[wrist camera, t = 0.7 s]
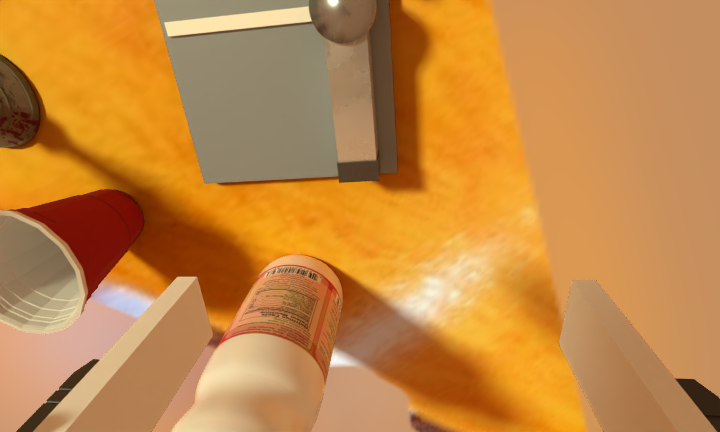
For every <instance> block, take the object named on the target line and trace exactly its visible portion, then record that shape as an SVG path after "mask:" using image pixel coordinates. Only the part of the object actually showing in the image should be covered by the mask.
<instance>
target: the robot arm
mask: <svg viewBox="0 0 720 432" xmlns="http://www.w3.org/2000/svg"><path fill="white" fill-rule="evenodd" d="M212 336H213V333H212V329H211V326H210V322H209V318H208V315H207V311H206V307H205V304H204V300H203V296H202V293H201V289H200V285H199V281H198V278H197V277H177V278H176V279H175V280H174V281H173V282H172V283H171V284H170V285H169V287H168V288H167V289H166V290H165V291H164V292H163V293H162V294H161V295H160V296H159V297H158V298H157V299H156V300H155V301H154V303H153V304H152V305H151V306H150V307H149V308H148V309H147V310H146V311H145V312H144V313H143V314H142V315H141V316H140V318H139V319H138V320H137V321H136V322H135V323H134V324H133V325H132V326H131V327H130V328H129V329H128V330H127V331H126V333H125V334H124V335H123V336H122V337H121V338H120V339H119V340H118V341H117V342H116V343H115V344H114V345H113V346H112V348H111V349H110V350H109V351H108V352H107V353H106V354H105V355H104V356H103V357H102V358H101V359H100V360H97V359H96V360H95V359H93V360H92V361H90V362H89V363H87V364H86V365H84V366H83V367H81V368H80V369H78V370H77V371H75V372H74V373H73V374H72V375H71V376H70V377H69V378H68V379H67V380H66V381H65V382H64V383H63V384H62V385H61V386H60V388H59V390H58V391H55V393H54V394H53V395H52V396H51V397H50V398H49V399H48V400H47V403H46V404H43V405H42V406H41V407H40V408H39V409H38V410H37V411H36V412H35V413H34V414H33V415H32V416H31V417H30V418H29V419H28V420H27V421H26V422H25V423H24V424H23V425H22V426H21V427H20V428H19V429H18V430H17V432H152V431H153V429H154V428H155V426H156V424H157V423H158V421H159V420H160V418H161V417H162V415H163V413H164V412H165V410H166V409H167V407H168V405H169V404H170V402H171V401H172V399H173V398H174V396H175V394H176V393H177V391H178V390H179V388H180V386H181V385H182V383H183V382H184V380H185V379H186V377H187V375H188V374H189V372H190V370H191V369H192V367H193V366H194V364H195V363H196V361H197V359H198V358H199V356H200V355H201V353H202V352H203V350H204V348H205V347H206V345H207V344H208V342H209V341H210V339H211V338H212ZM559 346H560V348H561V350H562V351H563V353H564V355H565V357H566V359H567V361H568V363H569V365H570V367H571V369H572V371H573V373H574V375H575V377H576V379H577V381H578V383H579V385H580V387H581V389H582V391H583V393H584V394H585V397H586V399H587V400H588V402H589V404H590V406H591V408H592V410H593V412H594V414H595V416H596V418H597V420H598V422H599V424H600V426H601V428H602V430H603V432H720V399H719V397H718V396H716V395H715V394H714V393H712V392H711V391H709V390H708V389H706V388H705V387H704V386H702V385H701V384H699V383H698V382H697V381H696V380H694V379H675V378H674V377H673V376H672V375H671V373H670V372H669V371H668V369H667V368H666V367H665V366H664V364H663V363H662V362H661V361H660V360H659V358H658V357H657V356H656V355H655V353H654V352H653V351H652V349H651V348H650V347H649V346H648V344H647V343H646V342H645V341H644V339H643V338H642V337H641V336H640V334H639V333H638V332H637V331H636V330H635V328H634V327H633V326H632V324H631V323H630V322H629V321H628V319H627V318H626V317H625V316H624V314H623V313H622V312H621V311H620V309H619V308H618V307H617V306H616V304H615V303H614V302H613V301H612V299H611V298H610V297H609V296H608V294H607V293H606V292H605V290H604V289H603V288H602V287H601V285H600V284H599V283H598V282H597V280H572V282H571V287H570V292H569V297H568V302H567V307H566V311H565V316H564V321H563V326H562V331H561V336H560V341H559Z"/></svg>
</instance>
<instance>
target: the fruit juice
mask: <svg viewBox="0 0 720 432" xmlns="http://www.w3.org/2000/svg"><path fill="white" fill-rule="evenodd" d="M342 305H343V291H342V286H341V283H340V281H339V279H338V277H337V276H336V274H335V273H334V272H333V270H332V269H331V268H330V267H328V266H327V265H326V264H324V263H323V262H321V261H319V260H317V259H315V258H313V257H309V256H305V255H287V256H283V257H280V258H278V259H276V260H274V261H272V262H271V263H269V264H268V265H267V266H266V267H265V268H264V269H263V270H262V272H261V273H260V274H259V276H258V278H257V279H256V281H255V283H254V285H253V286H252V288H251V290H250V291H249V293H248V295H247V297H246V298H245V300H244V302H243V303H242V305H241V307H240V309H239V310H238V312H237V314H236V315H235V317H234V319H233V321H232V322H231V324H230V326H229V327H228V329H227V331H226V333H225V334H224V336H223V338H222V339H221V341H220V343H219V345H218V346H217V348H216V350H215V351H214V353H213V354H212V356H211V358H210V359H209V361H208V363H207V365H206V367H205V369H204V371H203V374H202V376H201V378H200V380H199V384H198V386H197V390H196V396H195V403H194V405H193V406H192V407H191V408H190V409H189V410H188V411H187V412H186V413H185V415H183V416H182V417H181V419H180V420H179V421H178V422H177V423H176V425H175V426H174V427H173V428H172V430H171V431H170V432H311V430H312V428H313V427H314V424H315V422H316V419H317V416H318V413H319V410H320V406H321V403H322V399H323V395H324V389H325V384H326V378H327V375H328V369H329V365H330V361H331V356H332V351H333V347H334V342H335V338H336V333H337V328H338V324H339V319H340V314H341V310H342Z"/></svg>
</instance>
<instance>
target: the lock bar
mask: <svg viewBox="0 0 720 432" xmlns="http://www.w3.org/2000/svg"><path fill="white" fill-rule="evenodd" d="M377 11H378V6H377V0H309V13H310V17H311V20H312V23H313V25H314V26H315V28H316V29H317V31H318V32H319V33H320V34H321V35H322V36H323V37H324V44H325V52H326V61H327V69H328V78H329V86H330V95H331V103H332V112H333V120H334V129H335V137H336V146H337V154H338V162H337V169H338V177H339V183H341V182H360V181H379V177H380V170H381V165H380V151H379V150H378V139H377V126H376V112H375V98H374V84H373V70H372V56H371V43H370V31H371V29H372V28H373V26H374V24H375V21H376V18H377Z"/></svg>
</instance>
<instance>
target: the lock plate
mask: <svg viewBox="0 0 720 432" xmlns="http://www.w3.org/2000/svg"><path fill="white" fill-rule="evenodd" d="M154 2H155V5H156V9H157V13H158V16H159V20H160V24H161V27H162V31H163V35H164V38H165V42H166V45H167V49H168V53H169V56H170V60H171V64H172V67H173V71H174V75H175V78H176V82H177V86H178V89H179V93H180V96H181V100H182V104H183V107H184V111H185V115H186V118H187V122H188V126H189V129H190V133H191V136H192V140H193V144H194V147H195V151H196V155H197V158H198V162H199V166H200V169H201V173H202V176H203V180H204V184H208V183H226V182H244V181H262V180H280V179H299V178H317V177H335V176H338V169H337V162H338V154H337V146H336V137H335V129H334V120H333V112H332V103H331V95H330V86H329V78H328V69H327V61H326V52H325V44H324V37H323V36H322V35H321V34H320V33H319V32H318V31H317V29H316V28H315V26H314V25H313V23H312V20H311V17H310V13H309V0H154ZM377 6H378V11H377V18H376V21H375V24H374V26H373V28H372V29H371V31H370V43H371V56H372V70H373V84H374V98H375V112H376V126H377V139H378V150H379V151H380V165H381V170H380V174H390V173H398V166H397V147H396V127H395V108H394V89H393V70H392V50H391V31H390V12H389V0H377Z"/></svg>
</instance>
